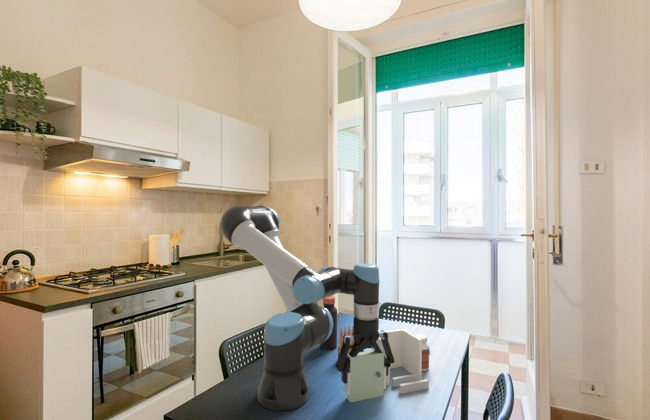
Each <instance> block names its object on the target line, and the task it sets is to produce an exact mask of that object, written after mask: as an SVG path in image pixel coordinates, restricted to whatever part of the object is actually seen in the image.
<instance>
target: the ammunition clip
mask: <svg viewBox="0 0 650 420" xmlns="http://www.w3.org/2000/svg"><path fill="white" fill-rule="evenodd" d="M351 327H352V328H351ZM353 332H354V329H353V326H348V328H347V327H345V328H344V329H343V328H342V327H341V328H340V332H339V340H338V351H337V352H338V353H337V358H338V357H339V354H340V351H341V348H342V345H343V336H344V335H347V336H352V335H353ZM353 344H354V340H352V343H351V344H350V348H349V351H348V354H349V352H350V351H351V349H352V345H353ZM357 347H358V346H357ZM360 352H365V349H362V350H361V351H360ZM346 358H347V357H346Z"/></svg>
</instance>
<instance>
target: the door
mask: <svg viewBox="0 0 650 420" xmlns="http://www.w3.org/2000/svg"><path fill="white" fill-rule="evenodd" d="M347 357H348V358H349V359H350V369H349V372H350V373H351V376H350V396H348V395H347V394H346V399H347V401H348V402H349V403H355V402H360V401H364V400H365V401H366V400H370V399H374V398H380V397H384V392H385V389H384V352H383V351H382V353H377V352H376V351H375V350H373V351H371V350H367V351H364V352H359V353H358V355H357V356H356V357H351V356H350V355H349V354H347Z"/></svg>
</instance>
